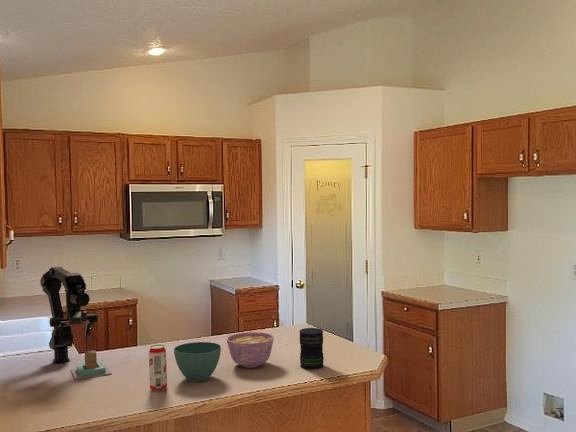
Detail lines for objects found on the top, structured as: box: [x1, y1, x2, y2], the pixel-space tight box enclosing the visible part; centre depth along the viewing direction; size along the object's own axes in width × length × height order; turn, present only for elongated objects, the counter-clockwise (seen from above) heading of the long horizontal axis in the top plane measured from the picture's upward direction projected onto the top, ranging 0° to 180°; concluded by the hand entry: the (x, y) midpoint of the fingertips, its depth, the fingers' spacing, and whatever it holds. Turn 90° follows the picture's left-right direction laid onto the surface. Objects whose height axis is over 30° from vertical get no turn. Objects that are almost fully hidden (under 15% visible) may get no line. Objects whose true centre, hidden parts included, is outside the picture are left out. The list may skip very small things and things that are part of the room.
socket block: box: [70, 361, 112, 381], centre depth 237 cm, size 14×14×2 cm
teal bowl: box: [173, 341, 222, 383], centre depth 226 cm, size 18×18×12 cm
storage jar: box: [299, 327, 325, 371], centre depth 239 cm, size 10×10×15 cm
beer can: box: [148, 344, 168, 393], centre depth 214 cm, size 6×6×16 cm
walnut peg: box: [84, 350, 97, 369], centre depth 236 cm, size 4×4×8 cm
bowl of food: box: [226, 331, 275, 369], centre depth 243 cm, size 20×20×12 cm
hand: (74, 340), depth 243 cm, fingers open, 9 cm apart
